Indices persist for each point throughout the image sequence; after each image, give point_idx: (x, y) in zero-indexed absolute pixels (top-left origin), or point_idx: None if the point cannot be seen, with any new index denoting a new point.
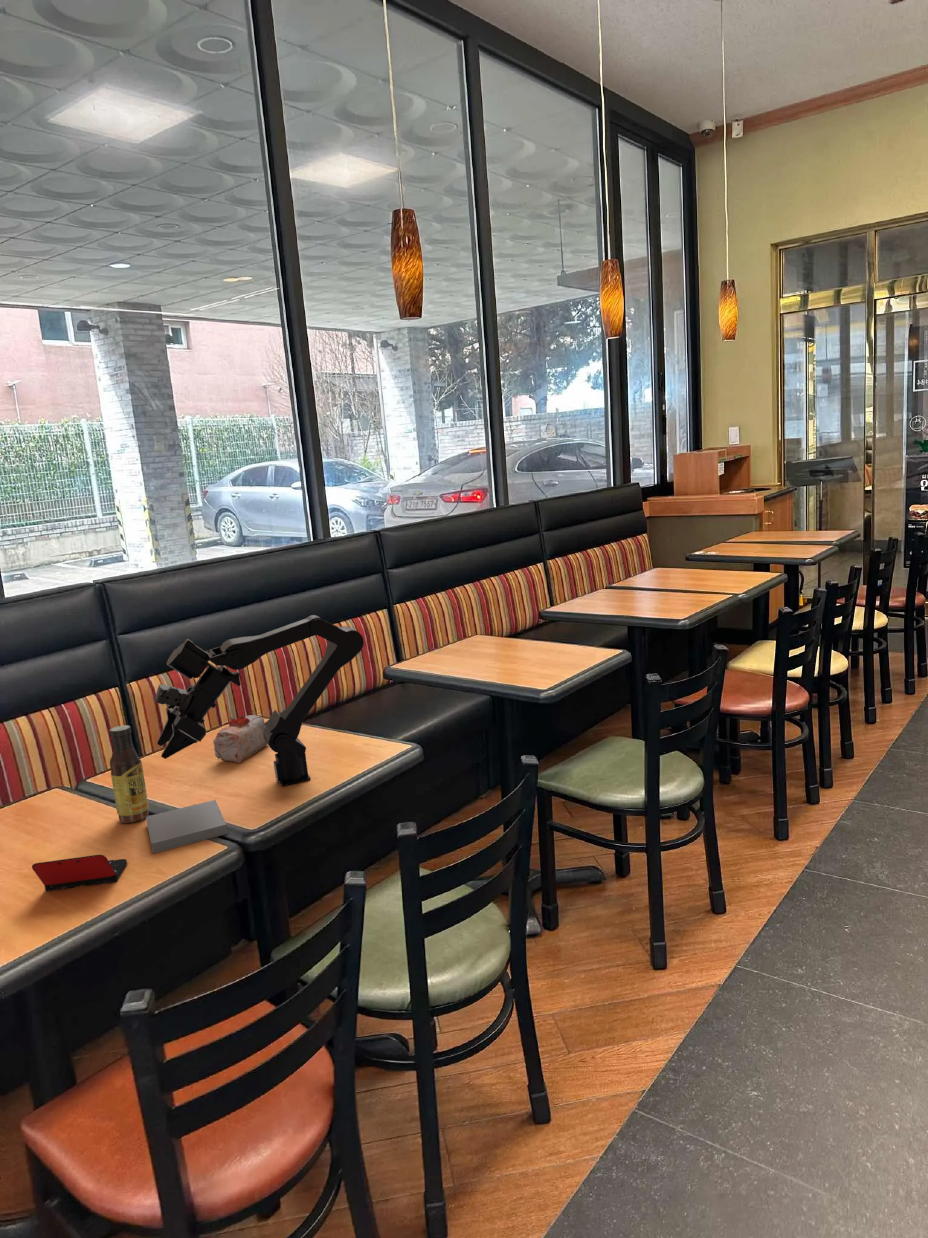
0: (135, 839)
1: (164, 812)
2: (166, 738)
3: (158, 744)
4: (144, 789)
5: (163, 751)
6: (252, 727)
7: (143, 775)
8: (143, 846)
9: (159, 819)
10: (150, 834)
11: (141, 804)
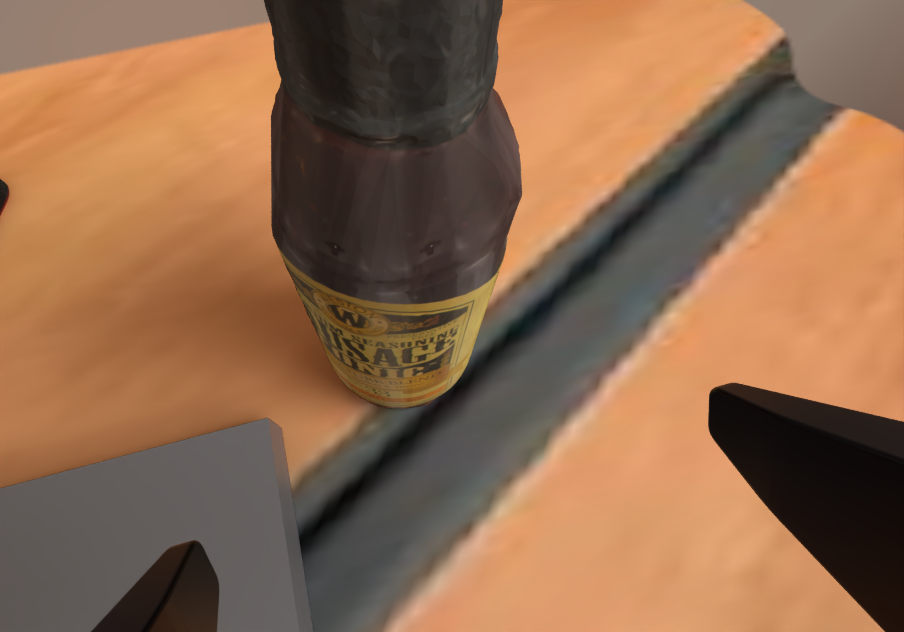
0: (151, 401)
1: (279, 515)
2: (799, 501)
3: (712, 402)
4: (377, 374)
5: (147, 592)
6: None
7: (396, 347)
8: (43, 457)
9: (187, 505)
10: (3, 492)
11: (345, 376)
